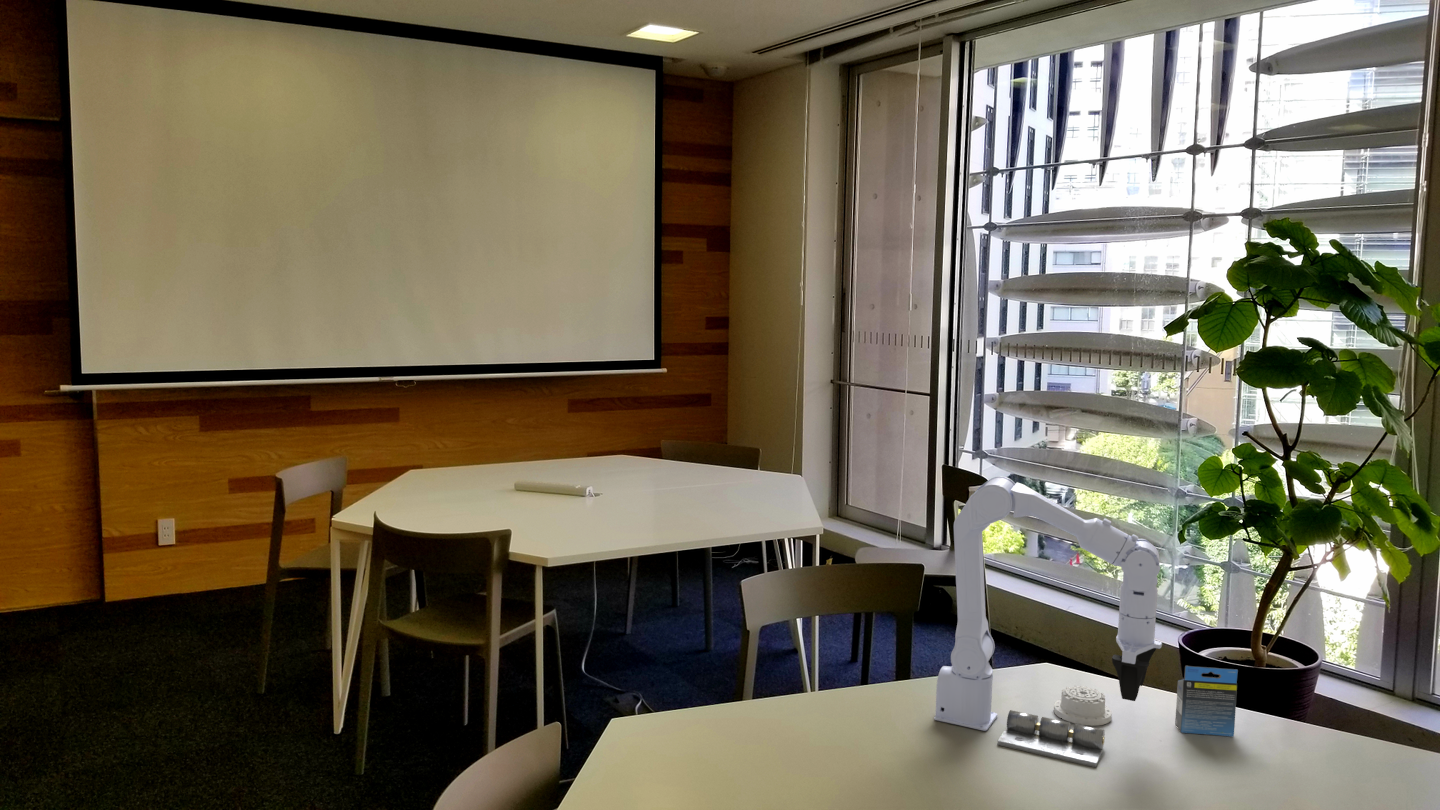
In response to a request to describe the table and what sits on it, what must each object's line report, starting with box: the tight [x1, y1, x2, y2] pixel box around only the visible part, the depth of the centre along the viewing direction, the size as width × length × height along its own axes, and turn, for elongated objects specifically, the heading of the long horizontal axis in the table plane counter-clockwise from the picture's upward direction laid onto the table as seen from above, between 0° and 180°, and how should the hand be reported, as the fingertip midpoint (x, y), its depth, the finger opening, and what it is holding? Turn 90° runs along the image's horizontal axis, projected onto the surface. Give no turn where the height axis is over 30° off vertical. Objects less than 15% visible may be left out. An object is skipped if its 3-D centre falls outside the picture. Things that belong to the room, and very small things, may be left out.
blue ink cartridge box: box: [1174, 665, 1239, 738], centre depth 181 cm, size 9×4×12 cm, turn 80°
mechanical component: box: [1053, 685, 1113, 727], centre depth 188 cm, size 10×4×10 cm
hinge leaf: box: [997, 709, 1106, 768], centre depth 175 cm, size 16×9×4 cm, turn 60°
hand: (1132, 691), depth 174 cm, fingers open, 7 cm apart
